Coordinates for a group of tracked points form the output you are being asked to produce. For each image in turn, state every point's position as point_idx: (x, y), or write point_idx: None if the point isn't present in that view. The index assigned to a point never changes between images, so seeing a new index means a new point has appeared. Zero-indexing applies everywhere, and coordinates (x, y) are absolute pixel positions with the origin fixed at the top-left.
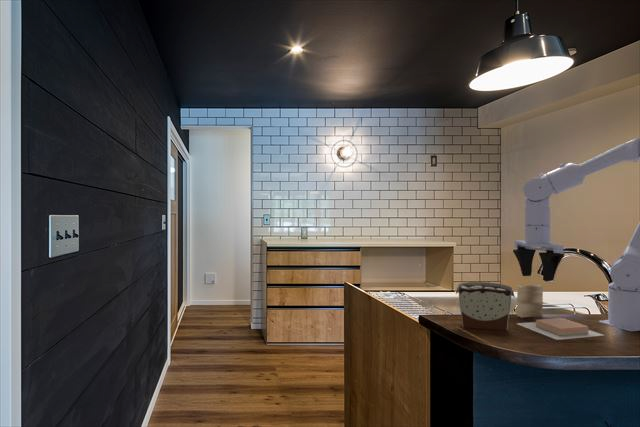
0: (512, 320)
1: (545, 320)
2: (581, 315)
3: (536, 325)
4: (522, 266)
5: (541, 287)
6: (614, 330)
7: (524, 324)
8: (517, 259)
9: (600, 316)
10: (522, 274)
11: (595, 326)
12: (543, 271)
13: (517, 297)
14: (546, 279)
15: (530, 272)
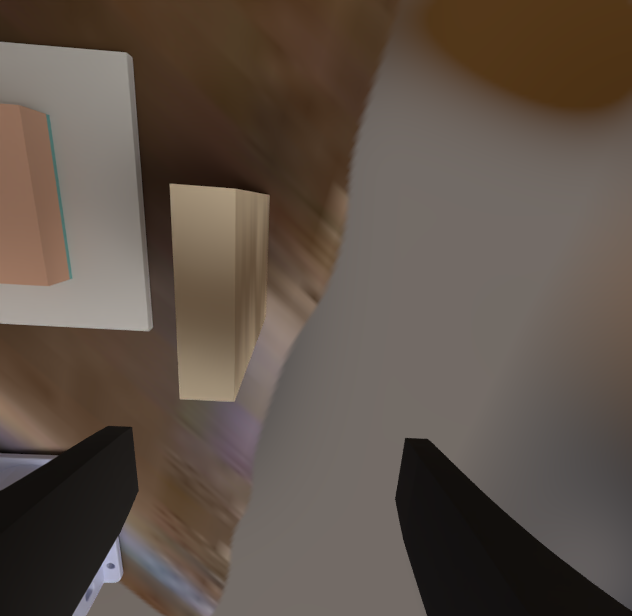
0: (232, 127)
1: (2, 152)
2: (228, 490)
3: (39, 113)
4: (453, 509)
5: (183, 383)
6: (11, 431)
7: (101, 89)
8: (606, 593)
9: (198, 536)
10: (429, 443)
11: (71, 412)
12: (54, 483)
13: (251, 192)
14: (95, 436)
15: (404, 526)
